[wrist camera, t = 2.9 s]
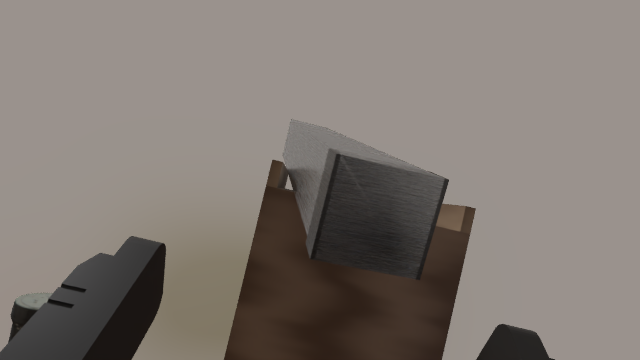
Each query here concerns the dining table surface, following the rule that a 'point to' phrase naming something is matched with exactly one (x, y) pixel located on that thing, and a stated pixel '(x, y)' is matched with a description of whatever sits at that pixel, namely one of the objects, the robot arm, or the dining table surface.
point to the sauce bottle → (26, 310)
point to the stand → (341, 293)
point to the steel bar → (361, 202)
